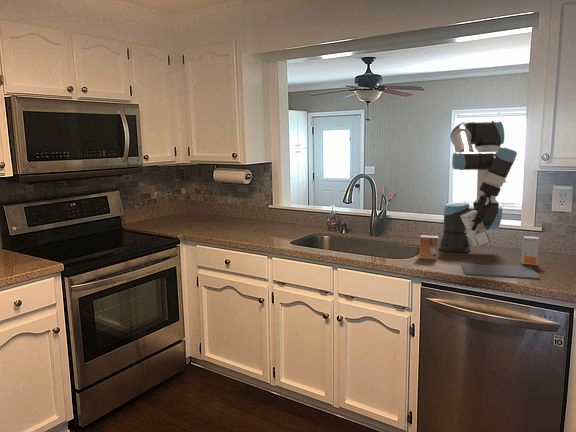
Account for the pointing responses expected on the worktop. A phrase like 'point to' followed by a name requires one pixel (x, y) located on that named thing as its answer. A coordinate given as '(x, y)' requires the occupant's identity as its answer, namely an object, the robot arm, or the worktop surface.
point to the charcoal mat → (500, 271)
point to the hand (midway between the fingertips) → (468, 235)
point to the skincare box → (530, 250)
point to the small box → (428, 247)
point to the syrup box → (481, 234)
